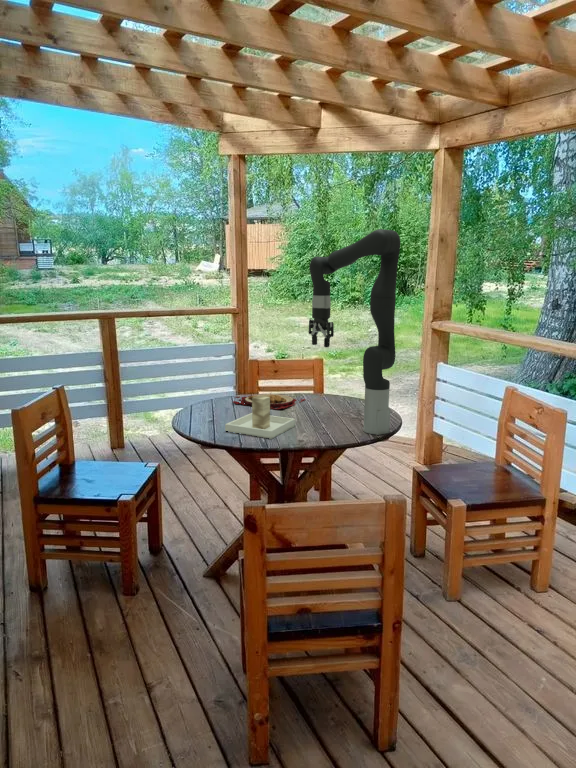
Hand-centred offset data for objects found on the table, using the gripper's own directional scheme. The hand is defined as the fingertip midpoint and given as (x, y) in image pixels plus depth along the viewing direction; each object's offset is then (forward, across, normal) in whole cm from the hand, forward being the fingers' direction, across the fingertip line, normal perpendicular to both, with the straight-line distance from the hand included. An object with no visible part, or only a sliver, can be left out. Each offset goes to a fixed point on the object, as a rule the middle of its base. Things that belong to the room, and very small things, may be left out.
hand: (320, 345), depth 229 cm
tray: (+30, +4, -31) cm, 43 cm away
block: (+30, +4, -31) cm, 43 cm away
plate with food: (+31, -33, -5) cm, 46 cm away
